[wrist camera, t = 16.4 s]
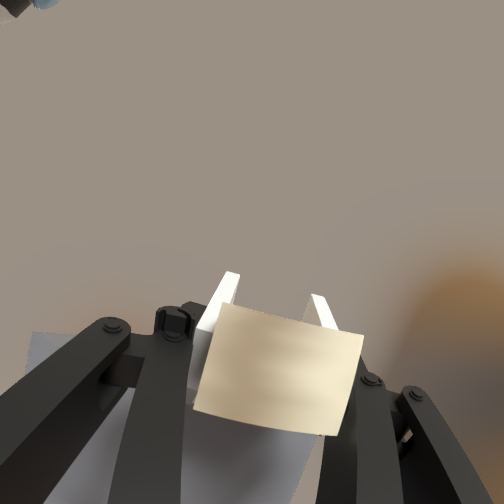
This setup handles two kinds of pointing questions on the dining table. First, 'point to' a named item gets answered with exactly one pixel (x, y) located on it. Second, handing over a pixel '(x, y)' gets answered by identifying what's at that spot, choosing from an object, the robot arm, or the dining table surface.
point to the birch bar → (278, 372)
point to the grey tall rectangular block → (188, 453)
